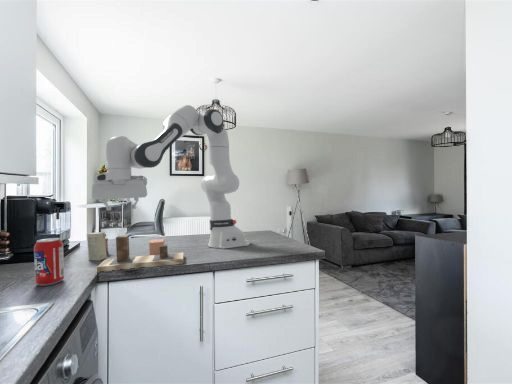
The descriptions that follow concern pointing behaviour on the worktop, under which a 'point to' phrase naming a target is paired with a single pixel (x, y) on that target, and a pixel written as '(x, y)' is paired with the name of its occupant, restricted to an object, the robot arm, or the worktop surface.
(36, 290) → the worktop surface
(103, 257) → the skincare box
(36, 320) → the worktop surface
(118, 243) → the peg
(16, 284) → the worktop surface
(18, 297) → the worktop surface
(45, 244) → the soda can
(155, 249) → the block
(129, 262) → the pad
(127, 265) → the board
